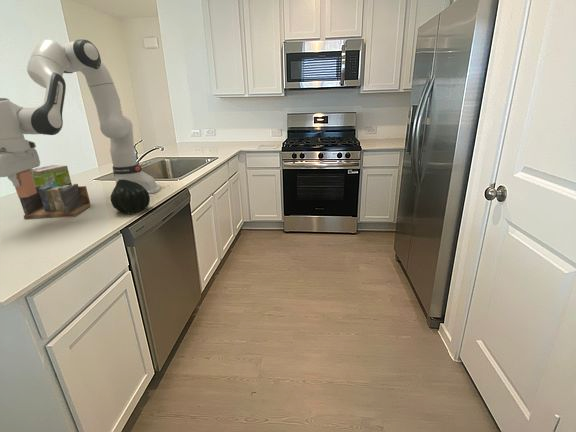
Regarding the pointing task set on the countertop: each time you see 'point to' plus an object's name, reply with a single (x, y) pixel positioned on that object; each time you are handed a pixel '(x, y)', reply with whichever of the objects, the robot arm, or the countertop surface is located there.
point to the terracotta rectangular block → (25, 184)
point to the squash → (129, 197)
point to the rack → (56, 202)
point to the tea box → (51, 176)
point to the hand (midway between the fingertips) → (24, 183)
